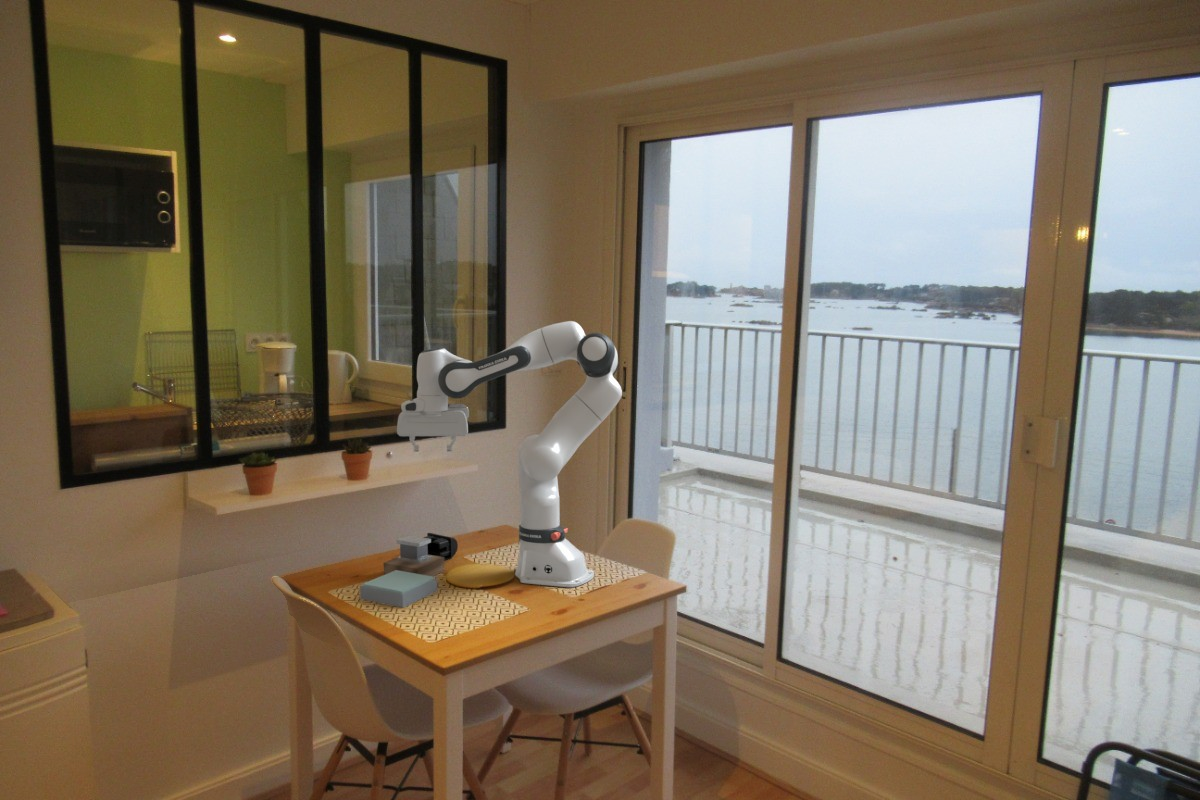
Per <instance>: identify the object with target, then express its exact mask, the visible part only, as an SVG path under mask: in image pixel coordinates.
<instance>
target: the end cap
mask: <svg viewBox="0 0 1200 800" xmlns="http://www.w3.org/2000/svg"><path fill="white" fill-rule="evenodd" d="M426 535H427V536H424V537H422V538H428V539H431V543H428V555H433V556H439V557H444V562H447V561H449V560H452V558H453V557H454V556H455V555H456V553H457V552H458V549H459V548H458V546H459V544H458V541H457V539H456V538H454V537H451V536H446V535H443V534H436V533H433V532H427V534H426Z"/></svg>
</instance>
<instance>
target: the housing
mask: <svg viewBox="0 0 1200 800" xmlns="http://www.w3.org/2000/svg"><path fill="white" fill-rule="evenodd" d="M428 543H431V539H428V538H423V537H421V536H415V535H406V536H403V537H400V538H398V539H396V544H399V547H400V548H399V549H400V554H399V556H397V557H396V558H397V561H402V562H408V563H414V564H422V563H424V562H427V561H429V560H431V556H428Z"/></svg>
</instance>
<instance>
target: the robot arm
mask: <svg viewBox="0 0 1200 800" xmlns="http://www.w3.org/2000/svg"><path fill="white" fill-rule="evenodd" d="M582 327H583V326H581V325H580V324H579V323H578V322H576V321H573V320H568V321H562V322H558V323H553V324H548V325H546V326H543V327H540V328H538V329H535V330H533V331H531V332H529V333H527V334H525V335H523V336H522V337H520V338H518V339H517V340H516V341H515V342H513V343H512V344H511V345H510V346H509V347H507V348H505V349H503V350H502V351H499V352H497V353H495V354H492V355H489V356H486V357H483V358H481V359H478V360H476V361H471V360H470V359H466V358H463V357H460V356H457V355H455V354H453V353H451V351H448V350H447V349H446V348H445V347H435V348H428V349H424V350H423V351H421V352H420V353H419V355H418V357H417V363H416V381H417V385H418V386H417V391H416V398H411V399H409V400H406V401H404V402H402V403H401V404H400V405H401V406H400V407H401V412H400V413H399V414H398V417H397V426H396V434H397V435H398V436H399V437H409V442H410V443H411V445H412V446H413V452H415V453H417V452H420V444H417V443H416V441H415V439H416V437H450V440H451V442H450V443H449V444H446V452H452V451H453V445H454V444H455V442H456V440H457V437H466V436H467V435H468V434H469V425H468V423H469V422H468V419H469V417H470V409H469V407H468V406H467V405H465V404H464V403H459V404H458V403H455V404H454V403H449V398H451V399H456V400H457V399H462V398H465V397H467V396H468V395H470V393H471V392H473V391H474V390H475V389H476V388H477V387H478V386H479V385H481V384H483V383H485V382H486V383H487V382H489V381H492V380H495V379H497V378H499V377H503V376H505V375H507V374H510V373H516V372H524V371H531V370H532V371H533V370H539V369H543V368H546V367H551V366H553V365H555V364H556V365H557V364H559V363H561V362H564V361H567V360H568V361H569V360H573V361H576V363H577V364H578V365H579V367H580V368H581V370H582V371H583V372H584V374H585V375H586V379H585V382H584V383H583V384H582V386H581V387H579V389H578V390H577V391H576V392H575V393H574V394H573V395H572V396H571V397H570V398H569V399H568V400H567V401H566V402H565V403H564V404H563V405H562V406H561V408H559V410H557V411H556V412H555V413H554V415H553V417H552V418H551V419H550V421H549V422H548V423H547V424H546V426H545V427H544V428H543V430H542V431H541V432H540V433H539V434H533V435H530V436H528V437H526V438H524V440H522V442H521V443H520V445H519V447H518V450H517V466H518V483H519V484H518V486H519V488H518V489H519V502H520V503H519V505H520V506H519V508H520V509H519V511H520V512H519V513H520V517H519V519H520V523H519V525H518V540H519V541H518V542H519V552H518V558H517V559H518V560H517V566H516V570H515V573H514V575H515V577H517V578H518V579H519V581H520V583H522V584H529V585H530V584H532V585H542V586H551V587H559V588H560V587H562V588H563V587H564V588H574V587H579V586H582V585H584V584H586V583H588V582H590V581H591V580H592V579H593V578H594V577H595V571H594V570H592V569H588V568H587V563H586V557H585V555H584V553H583V552H582V551H581V550H579V549H578V548H577V547H576V546H575V545H574V544H573V543H572V542H570V541H569V540H568V539H567V538H566V535H565V533H568V529H569V528H568V527H566V528H564V529H563V527H562V524H561V522H560V519H561V517H560V516H561V515H560V493H559V491H560V489H559V482H558V481H559V480H558V475H559V474H560V472H561V471H562V469H563V468H564V467H565V466H566V465H567V463H568V462H569V461H570V459H572V457H573V455H574V454H575V452H577V450H578V448H579V447H581V445H582V444H583V442H585V440H586V439H587V438H588V437H589V436H590V435H592V433H593V432H594V431H595V430H596V429H597V428H598V427H599V426H600V424H602V423H603V421H604V420H606V419H607V417H608V416H609V415H610V414H611V413H612V412H613V410H614V409H615V407H616V406H617V405H618V403H619V401H621V398H622V396H623V391H622V387H621V385H620V383H619V381H617V379H616V378H615V377H614V375H616V373H617V371H618V368H619V358H618V357H619V356H618V351H617V348H616V346H615V344H614V342H613V341H612V340H611V339H610V337H608V336H607V335H605V334H604V333H599V332H591V333H588V334H586V333H585V331H584V329H583V328H582Z"/></svg>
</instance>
